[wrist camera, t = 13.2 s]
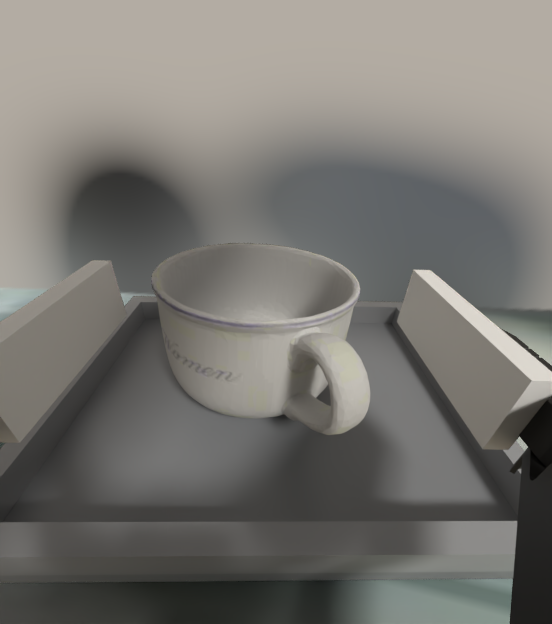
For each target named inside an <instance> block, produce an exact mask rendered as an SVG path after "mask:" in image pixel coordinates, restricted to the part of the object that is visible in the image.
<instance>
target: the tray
mask: <svg viewBox="0 0 552 624" xmlns="http://www.w3.org/2000/svg"><path fill="white" fill-rule="evenodd" d="M402 304H403V302H385V301H357V303H356V304H355V305H354V308H353V312H352V316H351V320H350V325H349V329H348V333H347V337H346V340H345V341H347V342H348V343H349V344H350V345H351V346H352V347H353V349H354V350H355V351H356V353H357V354H358V356H359V357H360V359H361V360H362V362H363V365H364V367H365V370H366V372H367V375H368V380H369V386H370V403H369V407H368V411H367V413H366V415H365V417H364V419H363V420H362V421H361V422H360V423H359V424H358V425H356V426H355V427H353V428H352V429H350V430H348V431H347V432H344V433H342V434H335V435H325V434H322V433H319V432H316V431H314V430H312V429H310V428H309V427H308V426H306V425H305V424H303V423H302V422H300V421H293V420H291V419H289V418H288V417H287V416H286V415H284V414H283V415H280V416H275V417H269V418H260V419H251V418H238V417H233V416H228V415H224V414H221V413H219V412H216V411H214V410H211V409H209V408H207V407H205V406H203V405H202V404H200V403H199V402H197V401H196V400H195V399H193V398H192V397H191V396H190V395H189V394H188V393H186V391H185V390H184V389H183V388H182V387H181V385H180V384H179V382H178V381H177V379H176V377H175V375H174V374H173V371H172V368H171V366H170V363H169V359H168V356H167V352H166V347H165V343H164V338H163V333H162V327H161V322H160V316H159V309H158V302H157V297H152V296H133V297H132V299H131V300H130V301H129V302H128V303H127V304H126V305H125V311H126V314H127V315H126V317H125V318H124V319H123V320H122V321H121V323H120V324H119V325H118V326H117V327H116V329H115V330H114V331H113V332H112V333H111V334H110V336H109V337H108V338H107V339H106V340H105V342H104V343H103V344H102V345H101V346H100V348H99V349H98V350H97V351H96V352H95V354H94V355H93V356H92V357H91V358H90V360H89V361H88V362H87V363H86V364H85V366H84V367H83V368H82V369H81V370H80V372H79V373H78V374H77V375H76V376H75V377H74V379H73V380H72V381H71V382H70V383H69V385H68V386H67V387H66V388H65V389H64V391H63V392H62V393H61V394H60V395H59V397H58V398H57V399H56V400H55V401H54V403H53V404H52V405H51V406H50V407H49V409H48V410H47V411H46V412H45V413H44V415H43V416H42V417H41V418H40V419H39V420H38V422H37V423H36V424H35V425H34V426H33V428H32V429H31V430H30V431H29V432H28V434H27V435H26V436H25V437H24V438H23V440H22V441H21V442H20V443H5V444H4V445H3V446H2V447H1V448H0V583H68V582H180V581H292V580H404V579H513V574H514V560H515V547H516V534H517V521H518V508H519V494H520V481H521V469H518V470H517V471H516V472H515V474H513V473H511V472H509V471H510V469H511V467H512V466H513V465H514V463H515V462H516V461H517V460H518V459H519V458H520V456H521V455H522V454H523V453H524V452H525V451H524V450H523V449H522V448H521V446H520V445H519V444H518V443H517V441H515V442H514V444H513V445H512V446H511V447H510V449H509V450H491V449H482V448H481V446H480V445H479V443H478V442H477V440H476V439H475V437H474V436H473V434H472V433H471V431H470V430H469V428H468V427H467V425H466V424H465V422H464V421H463V419H462V418H461V416H460V415H459V413H458V412H457V411H456V409H455V408H454V406H453V405H452V403H451V402H450V400H449V399H448V397H447V396H446V394H445V393H444V391H443V390H442V388H441V387H440V385H439V384H438V382H437V381H436V379H435V378H434V376H433V375H432V373H431V372H430V370H429V369H428V367H427V366H426V364H425V363H424V361H423V360H422V359H421V357H420V356H419V354H418V353H417V351H416V350H415V348H414V347H413V345H412V344H411V342H410V341H409V339H408V338H407V336H406V335H405V333H404V332H403V330H402V329H401V327H400V326H399V324H398V323H397V320H398V316H399V313H400V310H401V307H402ZM316 399H318V400H319V401H321V402H323V403H325V404H326V405H329V406H331V399H330V389H329V385H327V387H326V388H325V389H324V390H323V391H322V392H321V393H320V394H319V395H318V396H317V397H316Z"/></svg>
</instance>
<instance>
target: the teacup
mask: <svg viewBox="0 0 552 624" xmlns="http://www.w3.org/2000/svg"><path fill="white" fill-rule="evenodd" d="M151 282H152V289H153V291H154V293H155V295H156V297H157V302H158V309H159V316H160V322H161V327H162V333H163V338H164V343H165V347H166V352H167V356H168V359H169V363H170V366H171V368H172V371H173V374H174V375H175V377H176V379H177V381H178V382H179V384H180V385H181V387H182V388H183V389H184V390H185V391H186V393H188V394H189V395H190V396H191V397H192V398H193V399H195V400H196V401H197V402H199V403H200V404H202V405H203V406H205V407H207V408H209V409H211V410H214V411H216V412H219V413H221V414H224V415H228V416H233V417H238V418H251V419H260V418H269V417H275V416H280V415H283V414H284V415H286V416H287V417H288V418H289V419H291V420H293V421H300V422H302V423H303V424H305V425H306V426H308V427H309V428H310V429H312V430H314V431H316V432H319V433H322V434H325V435H335V434H342V433H344V432H347V431H348V430H350V429H352V428H353V427H355V426H356V425H358V424H359V423H360V422H361V421H362V420H363V419H364V417H365V415H366V413H367V411H368V407H369V403H370V386H369V380H368V375H367V372H366V370H365V367H364V365H363V362H362V360H361V359H360V357H359V356H358V354H357V353H356V351H355V350H354V349H353V347H352V346H351V345H350V344H349V343H348V342H347V341H345V340H346V337H347V333H348V329H349V325H350V320H351V316H352V312H353V308H354V305H355V304H356V303H357V301H358V299H359V296H360V285H359V282H358V280H357V278H356V277H355V276H354V274H353V273H351V272H350V270H348V269H347V268H346V267H344V266H343V265H341V264H340V263H338V262H336V261H334V260H332V259H330V258H327V257H325V256H322V255H319V254H315V253H312V252H309V251H305V250H300V249H296V248H292V247H286V246H279V245H270V244H251V243H228V244H218V245H209V246H204V247H199V248H195V249H190V250H187V251H184V252H181V253H178V254H176V255H174V256H172V257H170V258H168V259H166V260H165V261H163V262H162V263H161V264H160V265H158V266H157V268H156V269H155V270H154V272H153V274H152V280H151ZM327 385H329V389H330V399H331V406H329V405H326V404H325V403H323V402H321V401H319V400H318V399H316V397H317V396H318V395H319V394H320V393H321V392H322V391H323V390H324V389H325V388H326V387H327Z"/></svg>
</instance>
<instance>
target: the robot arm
mask: <svg viewBox="0 0 552 624" xmlns="http://www.w3.org/2000/svg"><path fill="white" fill-rule="evenodd" d="M126 315H127V314H126V311H125V307H124V304H123V301H122V297H121V294H120V290H119V287H118V283H117V280H116V277H115V274H114V270H113V266H112V263H111V261H99V260H93V261H91V262H89V263H88V264H86V265H85V266H84V267H82V268H80V269H79V270H78V271H76V272H75V273H73V274H71V275H70V276H69V277H67V278H65V279H64V280H62V281H61V282H59V283H58V284H56V285H55V286H53V287H52V288H50V289H49V290H47V291H46V292H44V293H43V294H41V295H40V296H38V297H37V298H36V299H34V300H33V301H31V302H30V303H28V304H27V305H25V306H24V307H22V308H21V309H19V310H18V311H16V312H15V313H13V314H12V315H10V316H9V317H7V318H6V319H4V320H3V321H1V322H0V442H4V443H20V442H21V441H22V440H23V438H24V437H25V436H26V435H27V434H28V432H29V431H30V430H31V429H32V428H33V426H34V425H35V424H36V423H37V422H38V420H39V419H40V418H41V417H42V416H43V415H44V413H45V412H46V411H47V410H48V409H49V407H50V406H51V405H52V404H53V403H54V401H55V400H56V399H57V398H58V397H59V395H60V394H61V393H62V392H63V391H64V389H65V388H66V387H67V386H68V385H69V383H70V382H71V381H72V380H73V379H74V377H75V376H76V375H77V374H78V373H79V372H80V370H81V369H82V368H83V367H84V366H85V364H86V363H87V362H88V361H89V360H90V358H91V357H92V356H93V355H94V354H95V352H96V351H97V350H98V349H99V348H100V346H101V345H102V344H103V343H104V342H105V340H106V339H107V338H108V337H109V336H110V334H111V333H112V332H113V331H114V330H115V329H116V327H117V326H118V325H119V324H120V323H121V321H122V320H123V319H124V318H125V317H126ZM397 323H398V324H399V326H400V327H401V329H402V330H403V332H404V333H405V335H406V336H407V338H408V339H409V341H410V342H411V344H412V345H413V347H414V348H415V350H416V351H417V353H418V354H419V356H420V357H421V359H422V360H423V361H424V363H425V364H426V366H427V367H428V369H429V370H430V372H431V373H432V375H433V376H434V378H435V379H436V381H437V382H438V384H439V385H440V387H441V388H442V390H443V391H444V393H445V394H446V396H447V397H448V399H449V400H450V402H451V403H452V405H453V406H454V408H455V409H456V411H457V412H458V413H459V415H460V416H461V418H462V419H463V421H464V422H465V424H466V425H467V427H468V428H469V430H470V431H471V433H472V434H473V436H474V437H475V439H476V440H477V442H478V443H479V445H480V446H481V448H482V449H491V450H509V449H510V447H511V446H512V445H513V444H514V442H515V441H516V440H517V439H518V437H519V436H520V437H521V439H522V440H523V441H524V442H525V443H526V445H527V446H528V448H527V449H526V451H525V452H524V453H523V454H522V455H521V456H520V458H519V459H518V460H517V461H516V462H515V463H514V465H513V466H512V467H511V469H510V471H509V472H511V473H513V474H515V472H516V471H517V470H518V469H521V481H520V494H519V508H518V521H517V534H516V547H515V560H514V574H513V587H512V600H511V613H510V624H552V366H551V365H550V364H549V363H548V362H546V361H545V360H544V359H543V358H539V355H538V354H537V353H535V352H534V351H533V350H532V349H528V346H527V345H525V344H524V343H523V342H522V341H521V340H519V339H518V338H517V337H516V336H514V335H512V334H510V333H508V332H506V331H505V330H503V329H501V328H499V327H498V326H496V325H495V324H494V323H493V322H492V321H491V320H489V319H488V318H487V317H486V316H485V315H483V314H482V313H481V312H480V311H479V310H477V309H476V308H475V307H474V306H473V305H471V304H470V303H469V302H468V301H467V300H465V299H464V298H463V297H462V296H460V295H459V294H458V293H457V292H456V291H455V290H453V289H452V288H451V287H450V286H449V285H447V284H446V283H445V282H444V281H443V280H441V279H440V278H439V277H438V276H437V275H435V274H434V273H433V272H432V271H431V270H413V272H412V275H411V278H410V281H409V285H408V288H407V291H406V295H405V297H404V301H403V304H402V307H401V310H400V313H399V316H398V320H397Z"/></svg>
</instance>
